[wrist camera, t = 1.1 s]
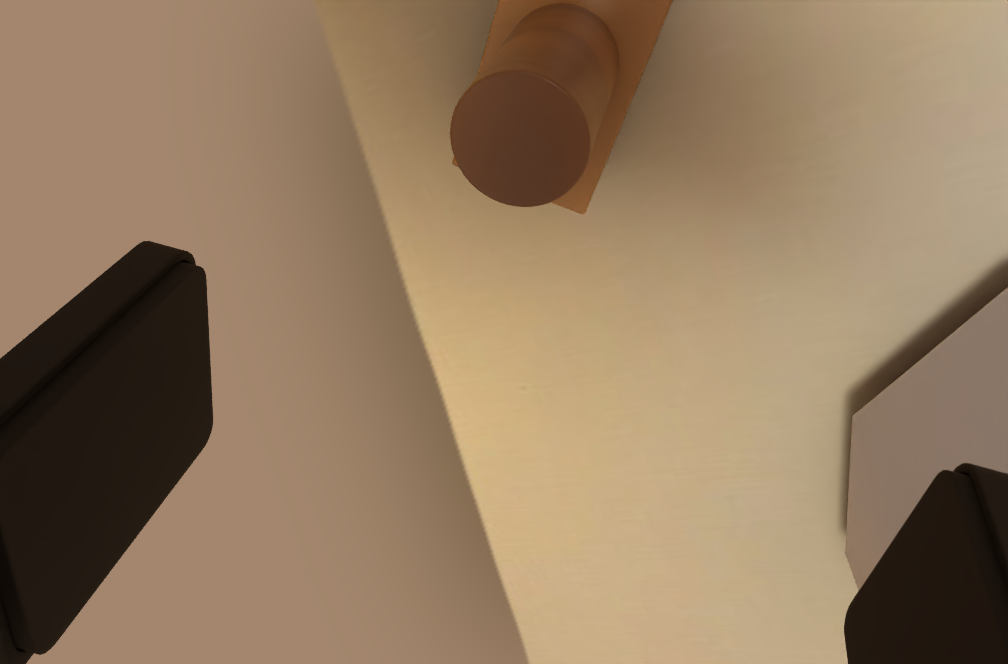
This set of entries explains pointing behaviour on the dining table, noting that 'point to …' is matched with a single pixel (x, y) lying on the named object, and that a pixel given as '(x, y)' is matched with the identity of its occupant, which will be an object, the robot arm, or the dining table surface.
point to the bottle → (927, 431)
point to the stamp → (552, 97)
